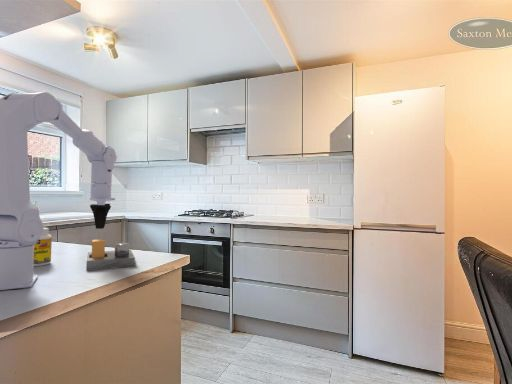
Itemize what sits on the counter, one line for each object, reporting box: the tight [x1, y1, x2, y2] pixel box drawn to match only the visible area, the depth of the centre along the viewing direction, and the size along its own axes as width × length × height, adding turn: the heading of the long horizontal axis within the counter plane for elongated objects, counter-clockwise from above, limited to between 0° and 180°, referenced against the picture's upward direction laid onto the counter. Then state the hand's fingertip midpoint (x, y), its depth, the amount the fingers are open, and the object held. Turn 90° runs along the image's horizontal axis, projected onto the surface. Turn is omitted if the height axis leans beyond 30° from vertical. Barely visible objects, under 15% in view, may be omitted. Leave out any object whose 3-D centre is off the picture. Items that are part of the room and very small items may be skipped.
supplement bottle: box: [33, 227, 53, 267], centre depth 82 cm, size 6×6×10 cm
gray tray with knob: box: [85, 242, 136, 271], centre depth 85 cm, size 12×12×6 cm
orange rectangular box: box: [91, 238, 106, 258], centre depth 84 cm, size 3×3×7 cm
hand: (99, 226), depth 91 cm, fingers open, 7 cm apart
